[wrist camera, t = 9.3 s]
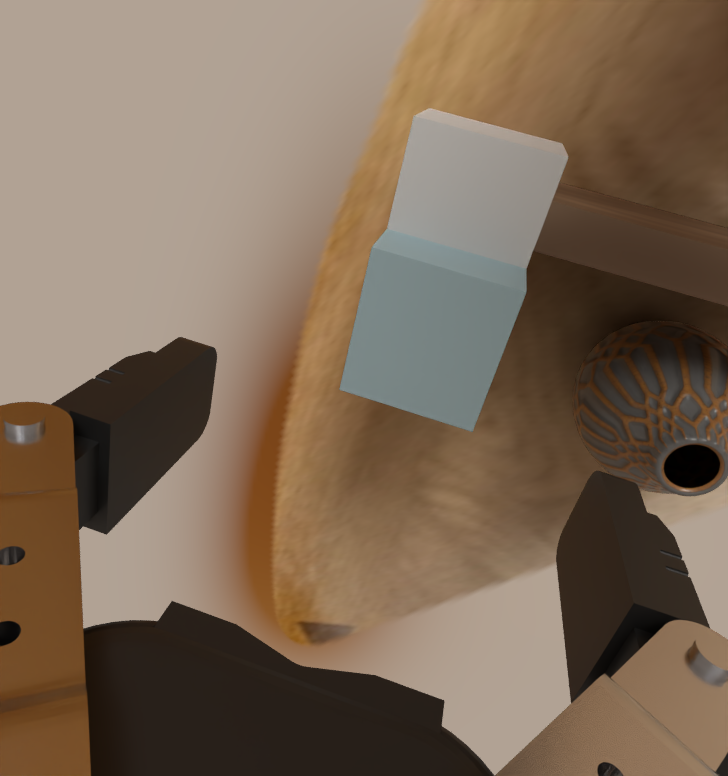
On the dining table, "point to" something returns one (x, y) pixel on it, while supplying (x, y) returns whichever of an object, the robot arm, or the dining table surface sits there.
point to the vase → (657, 407)
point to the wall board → (637, 243)
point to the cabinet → (451, 266)
